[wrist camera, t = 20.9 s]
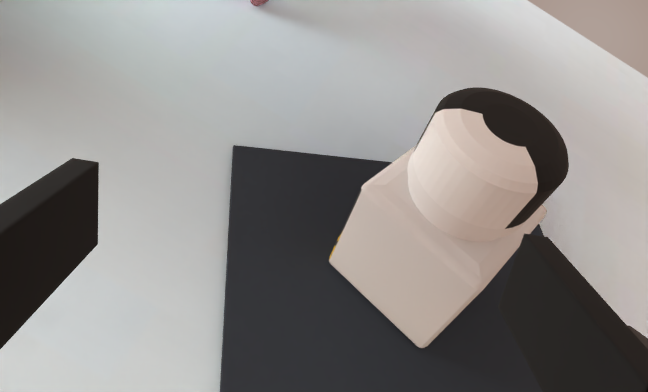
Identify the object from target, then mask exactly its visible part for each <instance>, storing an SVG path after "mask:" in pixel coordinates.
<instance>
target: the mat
mask: <svg viewBox="0 0 648 392" xmlns="http://www.w3.org/2000/svg"><path fill="white" fill-rule="evenodd" d="M390 164H392V162H383V161H374V160H365V159H355V158H346V157H337V156H328V155H318V154H309V153H300V152H291V151H281V150H272V149H263V148H254V147H244V146H235V145H234V146H233V158H232V177H231V195H230V214H229V233H228V251H227V270H226V289H225V307H224V326H223V345H222V364H221V382H220V392H543V391H542V389H541V387H540V385H539V383H538V382H537V380H536V378H535V376H534V374H533V372H532V370H531V368H530V367H529V365H528V363H527V361H526V359H525V357H524V355H523V353H522V352H521V350H520V348H519V346H518V344H517V342H516V340H515V339H514V337H513V335H512V333H511V331H510V329H509V327H508V325H507V324H506V322H505V320H504V318H503V316H502V314H501V312H500V311H499V309H498V305H499V303H500V300H501V297H502V294H503V291H504V289H505V286H506V283H507V280H508V277H509V275H510V272H511V269H512V266H513V263H514V261H515V258H516V255H517V252H518V249H519V248H518V249H517V250H516V251H515V252H514V254H513V255H512V256H511V257H510V258H509V260H508V261H507V262H506V263H505V264H504V266H503V267H502V268H501V269H500V270H499V272H498V273H497V274H496V275H495V276H494V277H493V279H492V280H491V281H490V282H489V283H488V285H487V286H486V287H485V288H484V289H483V290H482V291H481V292H480V293H479V294H478V295H477V296H476V297H475V298H474V299H473V300H472V301H471V302H470V303H469V304H468V305H467V306H466V307H465V308H464V309H463V310H462V312H461V313H460V314H459V315H458V316H457V317H456V318H455V319H454V320H453V321H452V322H451V323H450V324H449V325H448V326H447V327H446V328H445V329H444V330H443V331H442V332H441V333H440V334H439V335H438V336H437V337H436V338H435V339H434V340H433V341H432V342H431V343H430V344H429V345H428V346H426V347H425V348H419V347H418V346H416V345H415V344H414V343H413V342H412V341H411V340H410V339H409V338H408V337H407V336H406V335H405V334H404V333H403V332H402V331H400V330H399V329H398V328H397V327H396V326H395V325H394V324H393V323H392V322H391V321H390V320H389V319H388V318H387V317H386V316H385V315H384V314H383V313H382V312H380V311H379V310H378V309H377V308H376V307H375V306H374V305H373V304H372V303H371V302H370V301H369V300H368V299H367V298H366V297H365V296H364V295H363V294H361V293H360V292H359V291H358V290H357V289H356V288H355V287H354V286H353V285H352V284H351V283H350V282H349V281H348V280H347V279H346V278H345V277H344V276H342V275H341V274H340V273H339V272H338V271H337V270H336V269H335V268H334V267H333V266H332V265H331V264H330V262H329V257H330V255H331V252H332V250H333V248H334V246H335V244H336V241H337V239H338V237H339V235H340V233H341V231H342V228H343V226H344V224H345V222H346V220H347V217H348V215H349V213H350V211H351V209H352V207H353V204H354V202H355V200H356V198H357V196H358V193H359V191H360V189H361V187H362V186H363V184H364V183H366V182H367V181H368V180H370V179H371V178H373V177H374V176H375V175H377V174H378V173H379V172H381V171H382V170H383V169H385V168H386V167H387V166H389V165H390ZM530 234H531V235H537V236H543V233H542V231H541V228H540V226H539V224H538V225H537V226H536V227H535V229H534V230H533V231H532V232H531V233H530ZM543 237H544V236H543ZM519 247H520V246H519Z"/></svg>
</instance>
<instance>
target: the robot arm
mask: <svg viewBox="0 0 648 392" xmlns="http://www.w3.org/2000/svg"><path fill="white" fill-rule="evenodd" d="M98 167H99V162H93V161H87V160H81V159H75V158H72V159H70V160H69V161H67V162H66V163H64V164H63V165H61V166H59V167H58V168H56V169H55V170H53V171H52V172H50V173H48V174H47V175H45V176H44V177H42V178H41V179H39V180H38V181H36V182H34V183H33V184H31V185H30V186H28V187H27V188H25V189H23V190H22V191H20V192H19V193H17V194H16V195H14V196H13V197H11V198H9V199H8V200H6V201H5V202H3V203H2V204H0V349H1V348H2V347H3V346H4V345H5V344H6V343H7V341H8V340H9V339H10V338H11V337H12V336H13V335H14V334H15V333H16V332H17V331H18V330H19V328H20V327H21V326H22V325H23V324H24V323H25V322H26V321H27V320H28V319H29V318H30V317H31V316H32V314H33V313H34V312H35V311H36V310H37V309H38V308H39V307H40V306H41V305H42V304H43V303H44V301H45V300H46V299H47V298H48V297H49V296H50V295H51V294H52V293H53V292H54V291H55V290H56V289H57V287H58V286H59V285H60V284H61V283H62V282H63V281H64V280H65V279H66V278H67V277H68V276H69V274H70V273H71V272H72V271H73V270H74V269H75V268H76V267H77V266H78V265H79V264H80V263H81V262H82V260H83V259H84V258H85V257H86V256H87V255H88V254H89V253H90V252H91V251H92V250H93V249H94V247H95V246H96V245H97V244H98ZM498 309H499V311H500V312H501V314H502V316H503V318H504V320H505V322H506V324H507V325H508V327H509V329H510V331H511V333H512V335H513V337H514V339H515V340H516V342H517V344H518V346H519V348H520V350H521V352H522V353H523V355H524V357H525V359H526V361H527V363H528V365H529V367H530V368H531V370H532V372H533V374H534V376H535V378H536V380H537V382H538V383H539V385H540V387H541V389H542V391H543V392H648V339H647V338H646V337H645V336H643V335H642V334H640V333H639V332H638V331H636V330H635V329H634V328H632V327H631V326H627V325H626V324H625V323H624V322H623V321H622V320H621V319H620V317H619V316H618V315H617V314H616V313H615V312H614V311H613V310H612V309H611V307H610V306H609V305H608V304H607V303H606V302H605V301H604V300H603V298H602V297H601V296H600V295H599V294H598V293H597V292H596V291H595V290H594V288H593V287H592V286H591V285H590V284H589V283H588V282H587V281H586V279H585V278H584V277H583V276H582V275H581V274H580V273H579V272H578V270H577V269H576V268H575V267H574V266H573V265H572V264H571V263H570V262H569V260H568V259H567V258H566V257H565V256H564V255H563V254H562V253H561V251H560V250H559V249H558V248H557V247H556V246H555V245H554V244H553V243H552V241H551V240H550V239H549V238H548V237H543V236H537V235H531V234H525V233H524V235H523V238H522V241H521V244H520V247H519V249H518V252H517V255H516V258H515V261H514V263H513V266H512V269H511V272H510V275H509V277H508V280H507V283H506V286H505V289H504V291H503V294H502V297H501V300H500V303H499V305H498Z"/></svg>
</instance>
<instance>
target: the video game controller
mask: <svg viewBox="0 0 648 392" xmlns="http://www.w3.org/2000/svg"><path fill="white" fill-rule="evenodd" d="M267 1H268V0H251V3H252V4H253V5H254V6H259V5H262V4H264V3H265V2H267Z"/></svg>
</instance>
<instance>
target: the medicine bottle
mask: <svg viewBox="0 0 648 392" xmlns="http://www.w3.org/2000/svg"><path fill="white" fill-rule="evenodd" d="M568 166H569V163H568V154H567V149H566V145H565V143H564V141H563V139H562V137H561V135H560V133H559V132H558V131H557V129H556V128H555V127H554V125H553V124H552V123H551V122H550V121H549V120H548V119H547V118H546V117H545V116H544V115H543V114H542V113H540V112H539V111H538V110H537V109H535V108H534V107H532V106H531V105H529V104H528V103H526V102H524V101H522V100H521V99H519V98H516V97H514V96H512V95H510V94H507V93H504V92H501V91H498V90H493V89H488V88H467V89H463V90H460V91H456V92H453V93H451V94H449V95H447V96H446V97H444V98H443V99H442V100H441V101H440V103H439V104H438V106H437V108H436V110H435V112H434V114H433V115H432V117H431V119H430V121H429V123H428V125H427V127H426V128H425V130H424V132H423V134H422V136H421V138H420V140H419V142H418V143H417V145H416V146H415V147H413V148H412V149H411V150H409V151H408V152H406V153H405V154H404V155H402V156H401V157H400V158H398V159H397V160H396V161H394V162H393V163H392V164H390V165H389V166H387V167H386V168H385V169H383V170H382V171H381V172H379V173H378V174H377V175H375V176H374V177H373V178H371V179H370V180H368V181H367V182H366V183H364V184H363V186H362V187H361V189H360V191H359V193H358V196H357V198H356V200H355V202H354V204H353V207H352V209H351V211H350V213H349V215H348V217H347V220H346V222H345V224H344V226H343V228H342V231H341V233H340V235H339V237H338V239H337V241H336V244H335V246H334V248H333V250H332V252H331V255H330V257H329V262H330V264H331V265H332V266H333V267H334V268H335V269H336V270H337V271H338V272H339V273H340V274H341V275H342V276H344V277H345V278H346V279H347V280H348V281H349V282H350V283H351V284H352V285H353V286H354V287H355V288H356V289H357V290H358V291H359V292H360V293H361V294H363V295H364V296H365V297H366V298H367V299H368V300H369V301H370V302H371V303H372V304H373V305H374V306H375V307H376V308H377V309H378V310H379V311H380V312H382V313H383V314H384V315H385V316H386V317H387V318H388V319H389V320H390V321H391V322H392V323H393V324H394V325H395V326H396V327H397V328H398V329H399V330H400V331H402V332H403V333H404V334H405V335H406V336H407V337H408V338H409V339H410V340H411V341H412V342H413V343H414V344H415V345H416V346H418V347H419V348H425V347H426V346H428V345H429V344H430V343H431V342H432V341H433V340H434V339H435V338H436V337H437V336H438V335H439V334H440V333H441V332H442V331H443V330H444V329H445V328H446V327H447V326H448V325H449V324H450V323H451V322H452V321H453V320H454V319H455V318H456V317H457V316H458V315H459V314H460V313H461V312H462V310H463V309H464V308H465V307H466V306H467V305H468V304H469V303H470V302H471V301H472V300H473V299H474V298H475V297H476V296H477V295H478V294H479V293H480V292H481V291H482V290H483V289H484V288H485V287H486V286H487V285H488V283H489V282H490V281H491V280H492V279H493V277H494V276H495V275H496V274H497V273H498V272H499V270H500V269H501V268H502V267H503V266H504V264H505V263H506V262H507V261H508V260H509V258H510V257H511V256H512V255H513V254H514V252H515V251H516V250H517V249H518V248H519V246H520V244H521V241H522V238H523V235H524V233H525V234H530V233H531V232H532V231H533V230H534V229H535V227H536V226H537V225H538V224H539V223H540V221H541V220H542V219H543V218H544V217H545V215H546V212H547V211H546V208H545V207H544V206H543V205H542V204H543V203H544V201H545V200H546V199H547V198H548V197H549V196H550V195H551V194H552V193H553V192H554V191H555V190H556V188H557V187H558V186H559V185H560V184H561V183H562V182H563V181H564V179H565V178H566V175H567V172H568Z"/></svg>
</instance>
